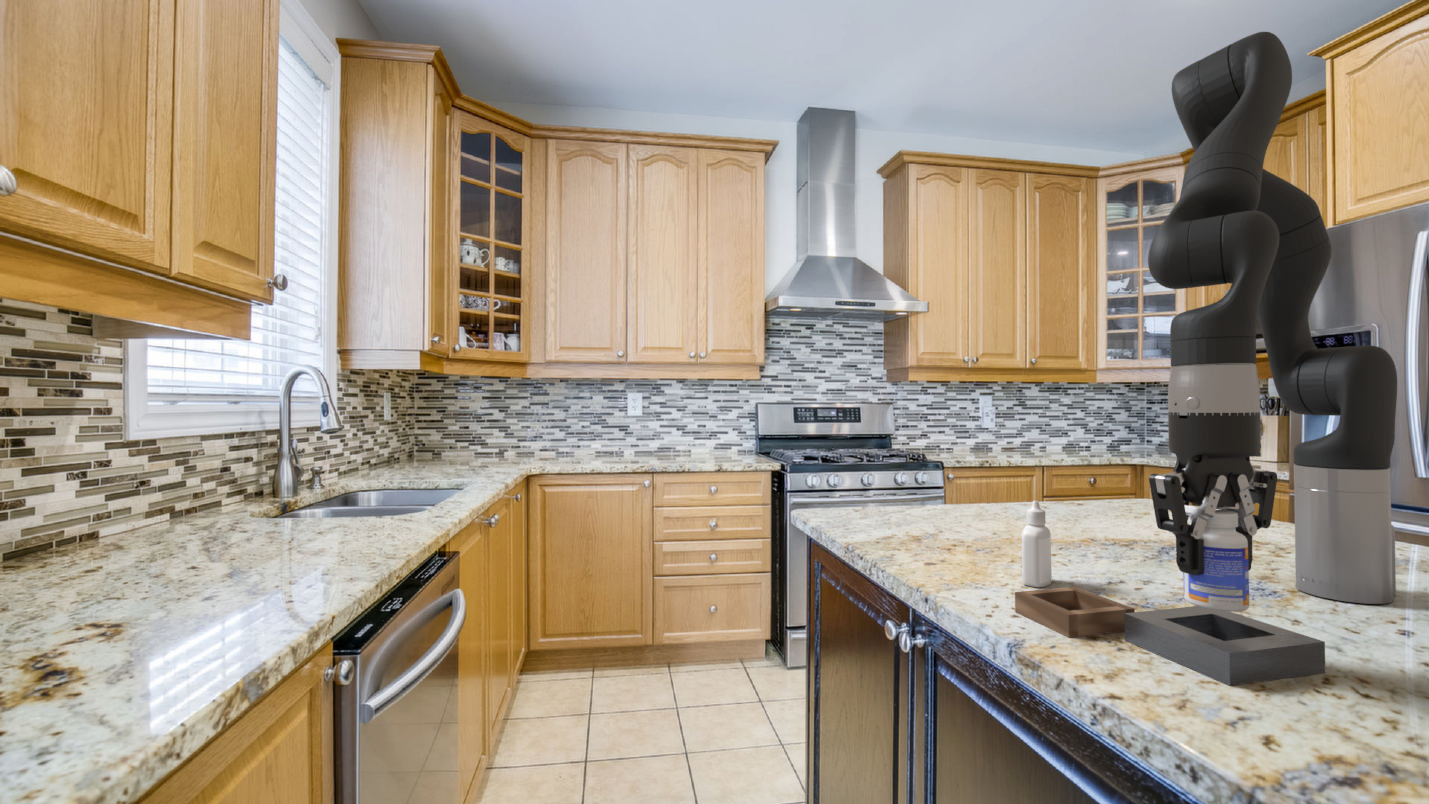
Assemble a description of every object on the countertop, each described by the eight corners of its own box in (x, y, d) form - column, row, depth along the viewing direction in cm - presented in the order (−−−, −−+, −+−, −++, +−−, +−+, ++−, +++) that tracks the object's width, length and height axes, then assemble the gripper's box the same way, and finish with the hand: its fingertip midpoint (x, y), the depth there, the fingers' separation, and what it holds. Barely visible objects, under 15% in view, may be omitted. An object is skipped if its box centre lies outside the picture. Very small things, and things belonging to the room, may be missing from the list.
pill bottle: (1262, 614, 62) (1261, 516, 62) (1200, 611, 63) (1199, 514, 63) (1229, 597, 68) (1228, 507, 68) (1172, 595, 69) (1171, 506, 69)
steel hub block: (1208, 630, 72) (1208, 604, 72) (1325, 672, 61) (1324, 641, 61) (1124, 640, 70) (1124, 613, 70) (1230, 685, 58) (1229, 653, 58)
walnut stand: (1075, 605, 81) (1075, 586, 81) (1134, 630, 73) (1134, 608, 73) (1015, 611, 80) (1014, 591, 80) (1068, 637, 71) (1068, 615, 71)
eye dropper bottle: (1064, 585, 90) (1063, 502, 90) (1032, 589, 89) (1031, 504, 89) (1040, 577, 95) (1039, 497, 95) (1010, 580, 93) (1008, 500, 93)
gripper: (1231, 408, 71) (1233, 558, 71) (1124, 409, 68) (1125, 566, 68) (1307, 408, 63) (1309, 576, 63) (1190, 410, 60) (1192, 586, 60)
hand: (1214, 570), depth 65 cm, fingers closed on pill bottle, 5 cm apart
